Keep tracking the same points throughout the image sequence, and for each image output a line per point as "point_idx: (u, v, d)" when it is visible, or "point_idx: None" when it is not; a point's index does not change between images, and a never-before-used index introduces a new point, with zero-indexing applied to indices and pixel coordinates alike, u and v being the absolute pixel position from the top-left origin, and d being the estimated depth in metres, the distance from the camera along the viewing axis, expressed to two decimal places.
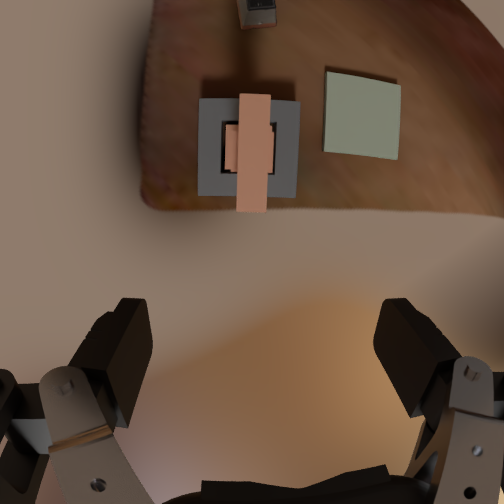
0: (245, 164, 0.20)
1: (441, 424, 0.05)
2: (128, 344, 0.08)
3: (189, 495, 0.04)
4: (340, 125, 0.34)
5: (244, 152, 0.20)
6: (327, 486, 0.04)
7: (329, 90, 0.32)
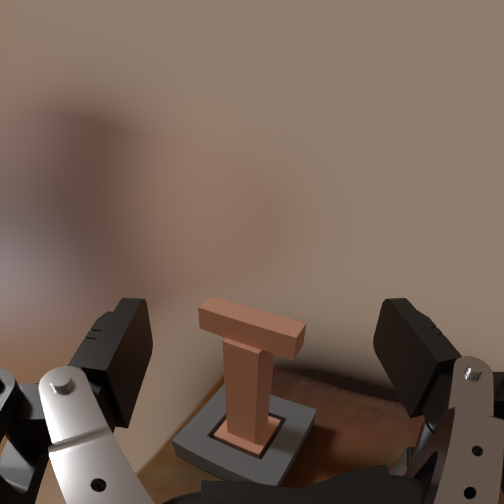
0: (244, 309, 0.23)
1: (441, 424, 0.05)
2: (128, 344, 0.08)
3: (189, 495, 0.04)
4: None
5: (253, 311, 0.23)
6: (327, 485, 0.04)
7: None
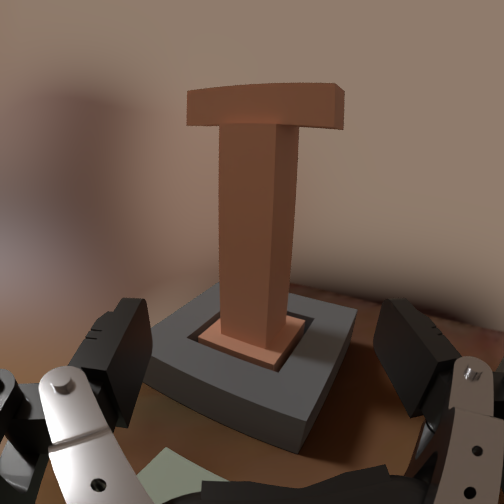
0: None
1: (441, 424, 0.05)
2: (128, 344, 0.08)
3: (189, 495, 0.04)
4: None
5: None
6: (327, 485, 0.04)
7: None
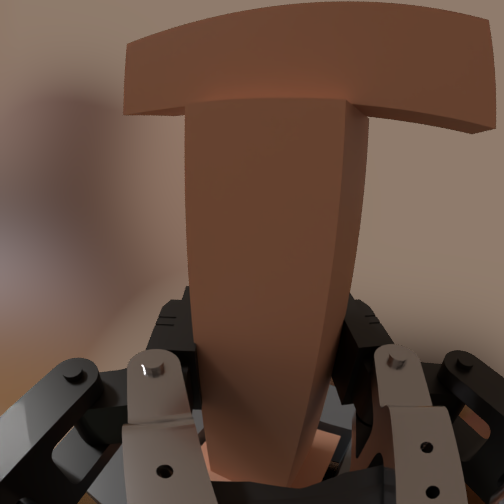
0: None
1: (376, 423, 0.05)
2: None
3: None
4: None
5: None
6: (327, 486, 0.04)
7: None
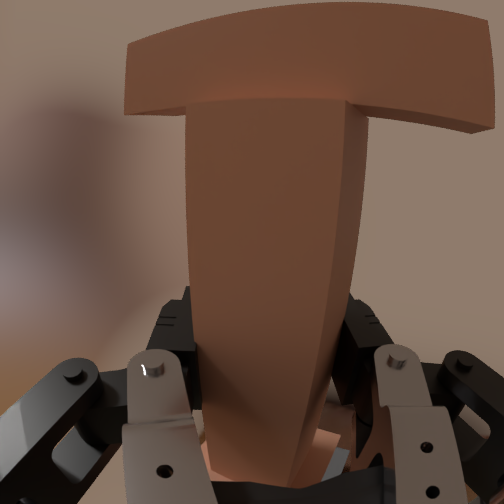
0: None
1: (376, 423, 0.05)
2: None
3: None
4: None
5: None
6: (327, 485, 0.04)
7: None
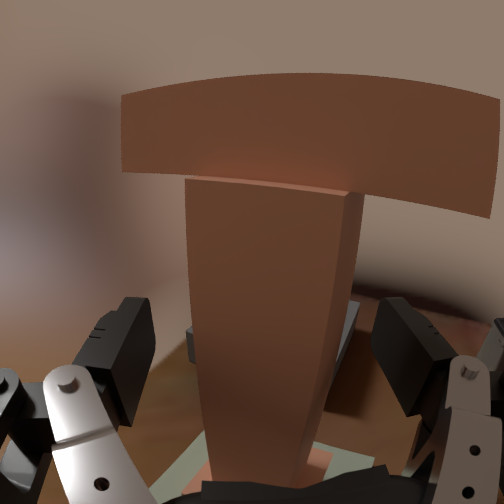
0: None
1: (438, 424, 0.05)
2: (132, 343, 0.08)
3: (189, 495, 0.04)
4: None
5: None
6: (327, 485, 0.04)
7: (335, 451, 0.15)
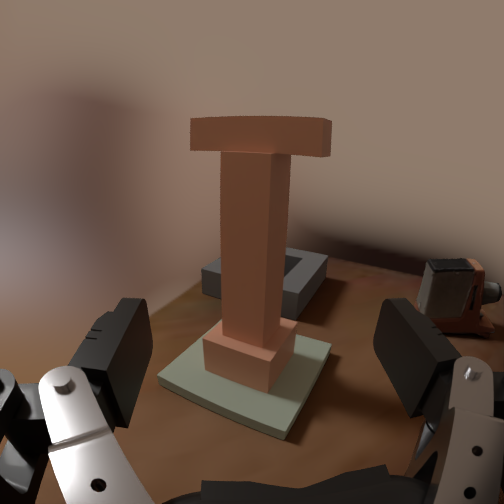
0: None
1: (441, 424, 0.05)
2: (128, 344, 0.08)
3: (189, 495, 0.04)
4: None
5: None
6: (327, 485, 0.04)
7: (303, 338, 0.25)
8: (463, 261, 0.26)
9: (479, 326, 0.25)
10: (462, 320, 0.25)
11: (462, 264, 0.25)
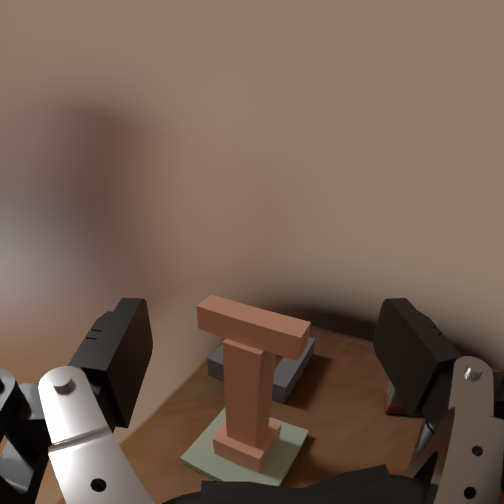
0: (245, 308, 0.22)
1: (441, 424, 0.05)
2: (128, 344, 0.08)
3: (189, 495, 0.04)
4: None
5: (255, 310, 0.22)
6: (327, 486, 0.04)
7: (287, 425, 0.30)
8: None
9: None
10: None
11: None
